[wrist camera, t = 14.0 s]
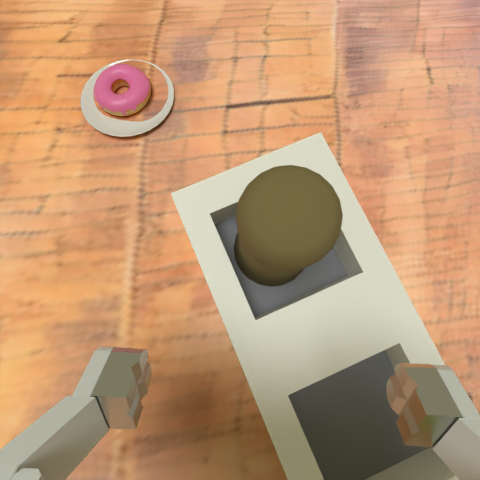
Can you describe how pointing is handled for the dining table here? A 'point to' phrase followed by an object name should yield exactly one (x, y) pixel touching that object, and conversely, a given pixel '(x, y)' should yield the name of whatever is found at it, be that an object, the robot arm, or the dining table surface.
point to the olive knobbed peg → (285, 224)
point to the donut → (121, 99)
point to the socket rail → (317, 332)
